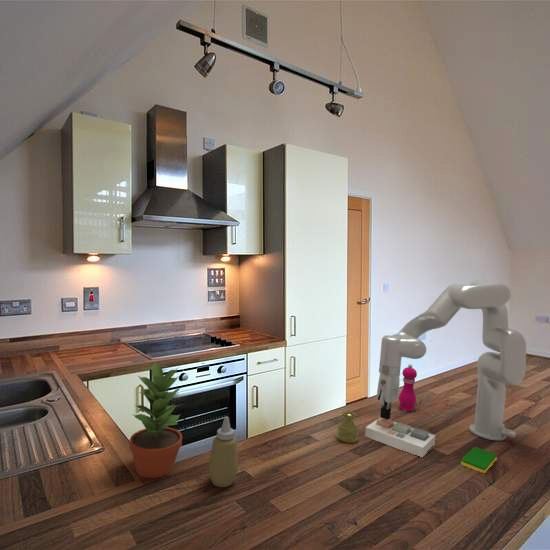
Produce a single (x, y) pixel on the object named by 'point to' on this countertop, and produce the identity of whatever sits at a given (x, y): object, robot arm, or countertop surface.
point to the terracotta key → (385, 422)
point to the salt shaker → (348, 428)
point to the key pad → (399, 439)
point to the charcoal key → (419, 434)
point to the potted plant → (156, 428)
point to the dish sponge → (479, 459)
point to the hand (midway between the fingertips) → (385, 418)
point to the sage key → (402, 428)
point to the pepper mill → (408, 389)
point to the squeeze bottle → (224, 456)
